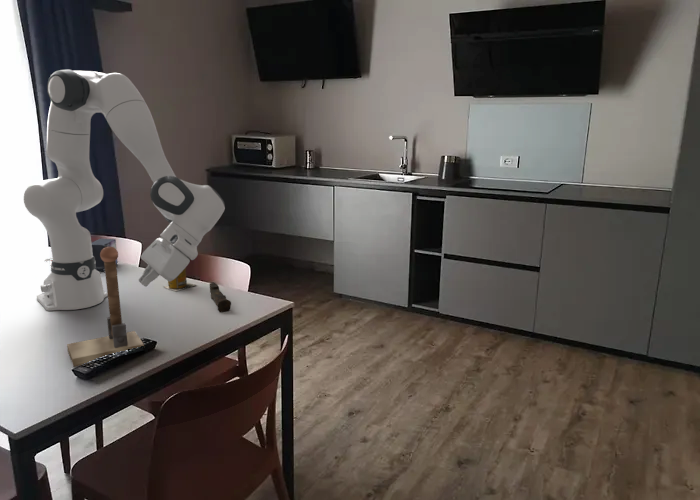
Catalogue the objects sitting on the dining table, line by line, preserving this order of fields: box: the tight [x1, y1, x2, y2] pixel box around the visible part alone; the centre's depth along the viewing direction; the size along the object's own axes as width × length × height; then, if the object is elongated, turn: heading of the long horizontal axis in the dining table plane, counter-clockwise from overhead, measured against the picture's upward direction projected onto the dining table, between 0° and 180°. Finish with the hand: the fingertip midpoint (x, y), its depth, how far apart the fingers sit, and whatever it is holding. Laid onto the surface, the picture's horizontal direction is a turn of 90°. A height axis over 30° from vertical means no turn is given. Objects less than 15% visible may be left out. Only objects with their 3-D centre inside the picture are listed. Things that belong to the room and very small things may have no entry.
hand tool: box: [209, 281, 232, 313], centre depth 173 cm, size 19×4×5 cm, turn 23°
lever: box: [100, 246, 123, 336], centre depth 136 cm, size 4×4×24 cm
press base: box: [66, 316, 145, 368], centre depth 137 cm, size 16×10×8 cm, turn 123°
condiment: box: [164, 266, 196, 292], centre depth 188 cm, size 7×8×12 cm
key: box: [44, 257, 53, 267], centre depth 217 cm, size 12×1×4 cm
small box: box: [91, 238, 119, 272], centre depth 209 cm, size 11×6×10 cm, turn 179°
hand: (141, 283), depth 139 cm, fingers closed
